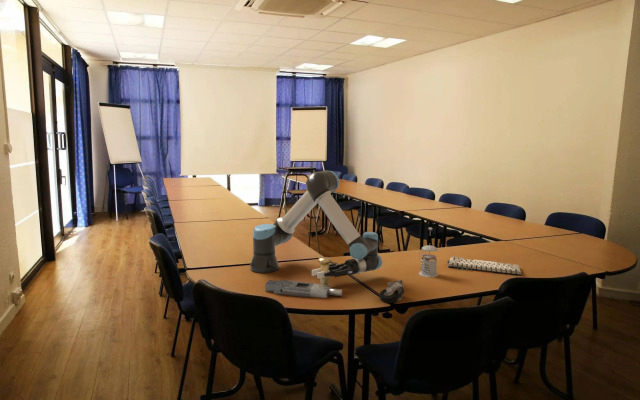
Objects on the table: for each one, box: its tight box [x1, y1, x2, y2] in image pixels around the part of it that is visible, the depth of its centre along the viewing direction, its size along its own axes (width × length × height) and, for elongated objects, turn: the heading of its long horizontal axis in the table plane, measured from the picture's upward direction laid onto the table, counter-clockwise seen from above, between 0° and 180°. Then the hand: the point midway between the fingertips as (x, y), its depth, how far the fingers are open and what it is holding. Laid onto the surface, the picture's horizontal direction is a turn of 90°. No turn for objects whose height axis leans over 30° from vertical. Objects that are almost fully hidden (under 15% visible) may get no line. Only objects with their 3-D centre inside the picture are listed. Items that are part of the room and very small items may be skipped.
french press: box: [418, 227, 439, 278], centre depth 214 cm, size 10×12×25 cm
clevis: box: [264, 279, 343, 299], centre depth 187 cm, size 35×9×4 cm, turn 76°
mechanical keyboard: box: [447, 256, 522, 277], centre depth 227 cm, size 38×19×3 cm, turn 70°
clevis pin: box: [318, 256, 332, 285], centre depth 193 cm, size 6×6×14 cm
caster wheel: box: [379, 279, 405, 304], centre depth 180 cm, size 7×11×10 cm
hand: (314, 274), depth 190 cm, fingers closed on clevis pin, 4 cm apart
